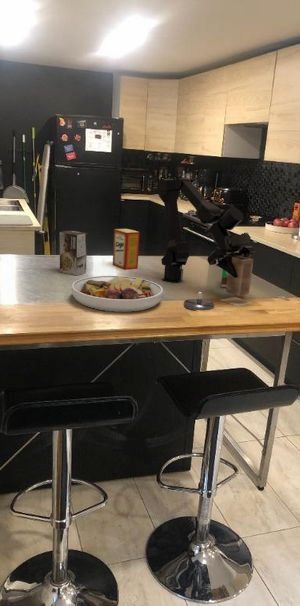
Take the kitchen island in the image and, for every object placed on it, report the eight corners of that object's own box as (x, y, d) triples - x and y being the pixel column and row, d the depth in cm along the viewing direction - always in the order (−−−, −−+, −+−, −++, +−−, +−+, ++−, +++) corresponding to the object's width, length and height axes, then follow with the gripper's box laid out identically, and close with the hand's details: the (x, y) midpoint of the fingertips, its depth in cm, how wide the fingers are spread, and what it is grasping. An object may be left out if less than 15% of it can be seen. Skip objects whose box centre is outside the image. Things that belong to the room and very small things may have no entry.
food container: (236, 291, 185) (239, 265, 182) (220, 289, 186) (223, 263, 184) (237, 283, 197) (240, 259, 194) (222, 281, 198) (225, 257, 195)
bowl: (61, 291, 172) (62, 269, 169) (141, 287, 184) (142, 266, 181) (86, 318, 146) (86, 293, 143) (177, 312, 157) (179, 288, 155)
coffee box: (86, 273, 197) (88, 232, 193) (76, 275, 192) (77, 234, 187) (69, 269, 202) (70, 229, 197) (58, 271, 197) (59, 231, 192)
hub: (179, 308, 160) (181, 293, 159) (188, 300, 169) (190, 286, 168) (209, 313, 157) (211, 298, 155) (217, 305, 166) (218, 291, 164)
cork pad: (219, 301, 171) (219, 299, 171) (235, 298, 176) (235, 296, 176) (237, 307, 165) (237, 306, 165) (252, 304, 170) (252, 302, 170)
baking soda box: (112, 265, 214) (114, 228, 210) (125, 263, 218) (126, 227, 213) (125, 269, 207) (126, 231, 202) (137, 268, 211) (139, 231, 206)
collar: (225, 291, 170) (229, 257, 166) (236, 289, 173) (240, 256, 170) (238, 295, 166) (242, 260, 162) (249, 293, 169) (253, 259, 166)
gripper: (217, 225, 160) (239, 266, 155) (254, 223, 171) (275, 261, 167) (198, 244, 168) (218, 284, 163) (234, 241, 179) (254, 278, 175)
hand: (242, 276), depth 167 cm, fingers closed on collar, 6 cm apart
